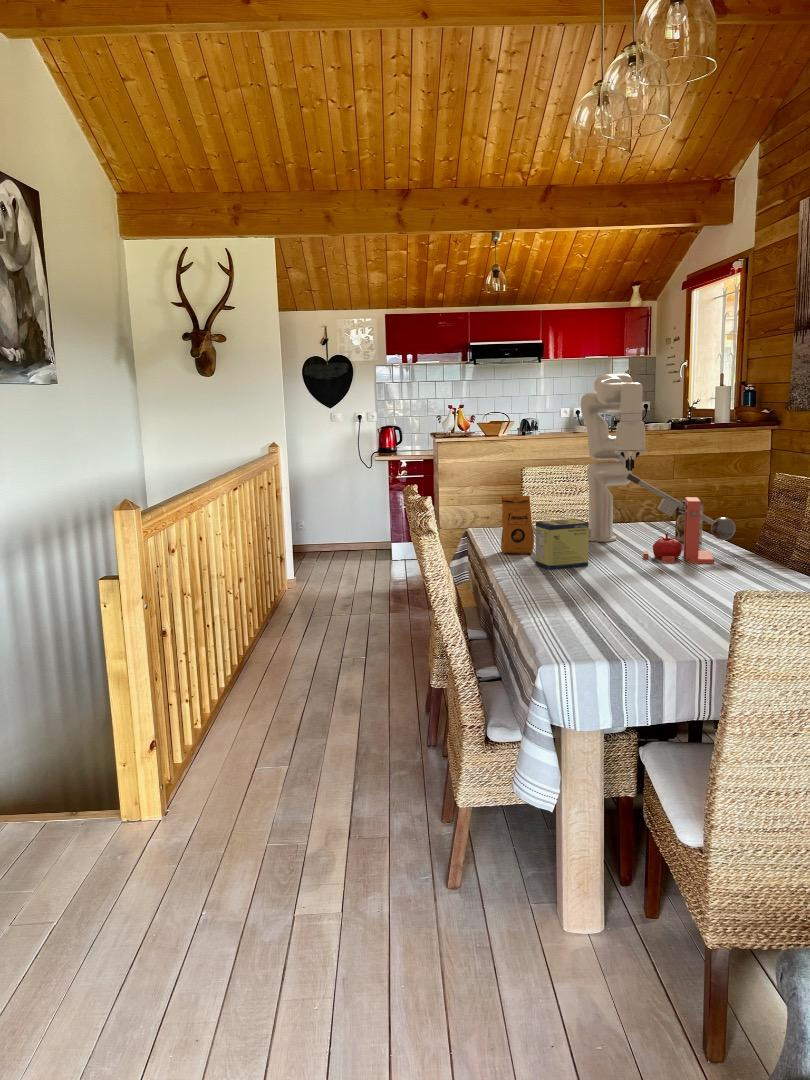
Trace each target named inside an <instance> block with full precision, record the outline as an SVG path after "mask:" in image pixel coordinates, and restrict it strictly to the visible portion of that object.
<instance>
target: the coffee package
mask: <svg viewBox="0 0 810 1080" xmlns="http://www.w3.org/2000/svg"><path fill="white" fill-rule="evenodd" d="M500 501H501V503H502V504H501V505H502V508H501V509H502V511H501V516H502V517H501V525H502V531H501V537H500V538H501V539H500V550H501V552H502V553H504V554H511V555H516V554H517V555H519V554H520V555H525V554H530V555H531V554H533V550H534V548H535V535H534V529H533V523H532V522H533V520H532V511H531V510H532V509H531V497H530V495H518V496H516V495H515V496H514V495H502V496H501V500H500Z"/></svg>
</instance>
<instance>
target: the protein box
mask: <svg viewBox="0 0 810 1080" xmlns="http://www.w3.org/2000/svg"><path fill="white" fill-rule="evenodd" d="M588 536H589V521H584V520H581V519H577V518H564V519H563V518H562V519H553V520H550V519H549V520H541V521H540V520H539V521H535V565H536V566H538V567H541V568H544V569H546V570H548V571H549V570H551V571H552V570H561V569H571V568H583V567H584V568H585V567H588V566H589V541H588Z"/></svg>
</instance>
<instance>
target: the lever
mask: <svg viewBox="0 0 810 1080" xmlns="http://www.w3.org/2000/svg"><path fill="white" fill-rule="evenodd" d="M626 479H628V480H630V482H632V483H634V484H636V485H639V486H641V487H642V488H645V489H646V490H648V491H649V492H651V493H653V494H655V495H657V496H659V498H660V497H661V498H662V500H661V501H660V503H659V504H658V505H657V510H658V511H659V512H662V513H663V514H665V515H667V516H669V517H670V518H671V517H672V516H673V515H674V513H675V512H676V508H677V507H680V508H682V506H683V503H682V502H680V501H678V499H676V498H675V497H673V496H671V495H669V494H668V493H665V492H664V491H662V490H660V489H659V488H656V487H655V486H653V485H651V484H650V483H647V482H645V481H644V480H642V479H641V478H640V477H638V476H637V475H635V474H633V473H632V474H631V473H629V474H628V475H627V477H626ZM686 512H687V509H686ZM700 519H702V520H703V522H705V523H707V524H709V525H711V526H710V530H711V531H710V532H711V534H712V536H714V537H715V538H716V539H718V540H721V541H727V540H729V539H731V538H732V537H733V536H734V535H735V534H736V524H735V522H734V521H733V520H732V519H731V518H729V517H725V516H723V517H722V516H721V517H718V518H716V519H712V518H711V517H709V516H707V515H705V514H704V513H703V514H702V513H700ZM714 537H713V538H714Z"/></svg>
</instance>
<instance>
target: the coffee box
mask: <svg viewBox="0 0 810 1080" xmlns="http://www.w3.org/2000/svg"><path fill="white" fill-rule="evenodd" d="M677 500H678V499H677ZM678 501H680V502H682V503H683V506H682V508H680V507H677V508H676V510H675V526H674V527H675V530H674V531H675V533H674V538H676V539H674V540H677V539H678V541H679V542H682V543H684V526H685V499H679V500H678ZM700 513H702V514H703V515H704V501H703V502H702V501H700ZM703 522H704V521H703V520H702V519H700V525H699V543H702V540H703V539H702V536H703Z"/></svg>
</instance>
